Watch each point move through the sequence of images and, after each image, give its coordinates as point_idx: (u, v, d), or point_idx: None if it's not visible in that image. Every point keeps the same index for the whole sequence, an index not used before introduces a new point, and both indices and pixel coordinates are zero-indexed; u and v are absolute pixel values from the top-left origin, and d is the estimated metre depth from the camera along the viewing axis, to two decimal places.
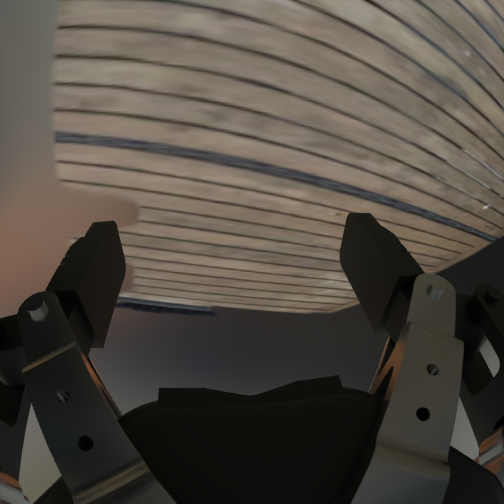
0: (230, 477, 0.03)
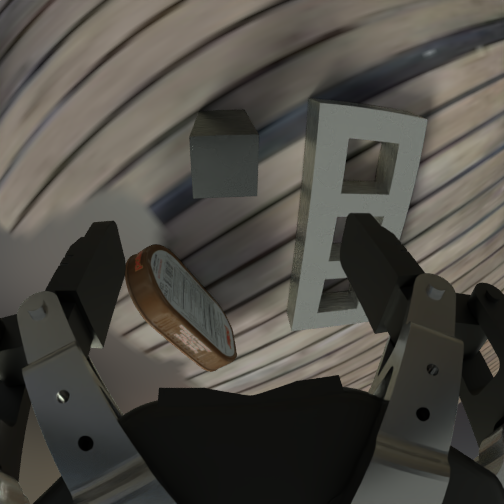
0: (230, 477, 0.03)
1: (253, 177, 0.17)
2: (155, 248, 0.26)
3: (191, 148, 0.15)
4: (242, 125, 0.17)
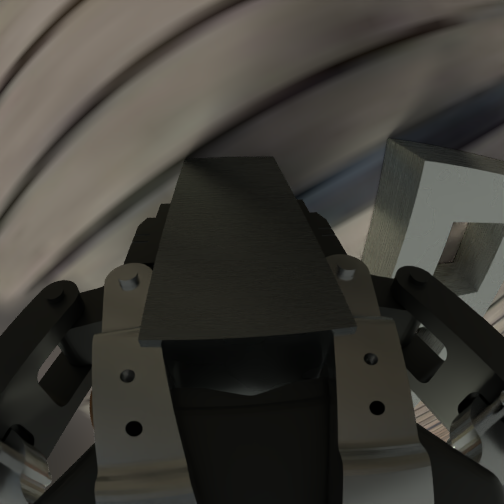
0: (231, 477, 0.03)
1: None
2: None
3: None
4: (290, 245, 0.07)
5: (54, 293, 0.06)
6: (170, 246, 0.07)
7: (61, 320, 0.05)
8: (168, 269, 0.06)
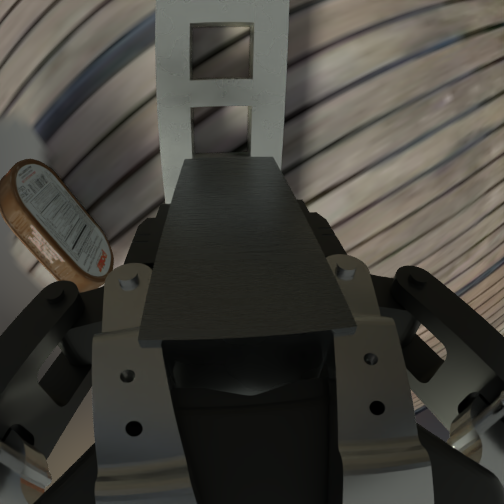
0: (230, 477, 0.03)
1: None
2: (31, 162, 0.22)
3: None
4: (290, 245, 0.07)
5: (54, 293, 0.06)
6: (170, 246, 0.07)
7: (61, 320, 0.05)
8: (168, 269, 0.06)
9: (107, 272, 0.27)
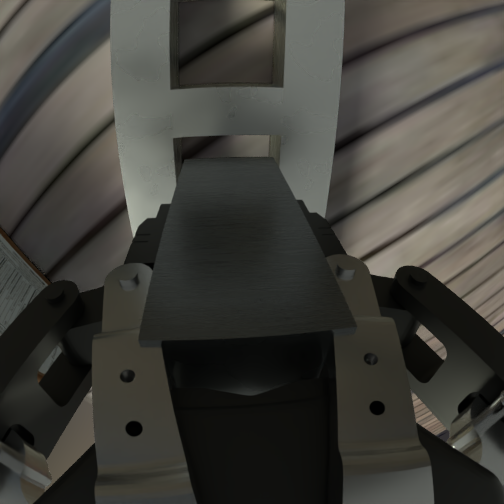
0: (230, 477, 0.03)
1: None
2: None
3: None
4: (291, 245, 0.07)
5: (54, 293, 0.06)
6: (170, 246, 0.07)
7: (61, 320, 0.05)
8: (168, 269, 0.06)
9: None
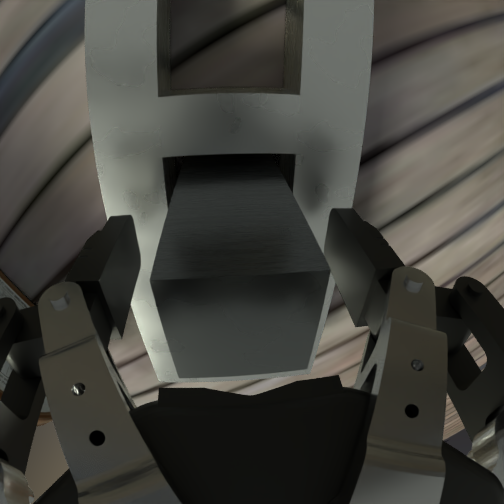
0: (231, 477, 0.03)
1: (304, 346, 0.07)
2: None
3: (159, 304, 0.06)
4: (277, 212, 0.08)
5: None
6: (176, 214, 0.08)
7: None
8: (174, 231, 0.07)
9: None
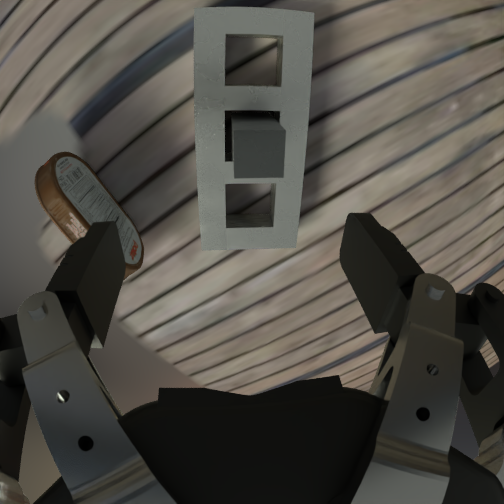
0: (230, 477, 0.03)
1: (280, 162, 0.21)
2: (68, 154, 0.25)
3: (234, 139, 0.20)
4: (271, 123, 0.22)
5: None
6: (236, 123, 0.22)
7: None
8: (237, 125, 0.21)
9: (138, 261, 0.30)
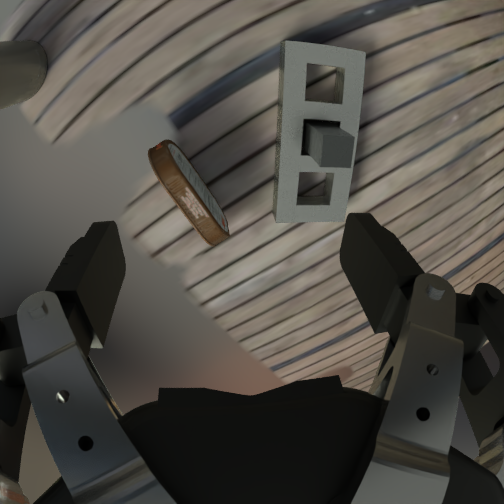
0: (230, 477, 0.03)
1: (350, 158, 0.31)
2: (171, 142, 0.34)
3: (323, 141, 0.30)
4: (340, 131, 0.31)
5: None
6: (318, 129, 0.31)
7: None
8: (320, 131, 0.31)
9: (227, 230, 0.40)
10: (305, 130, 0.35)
